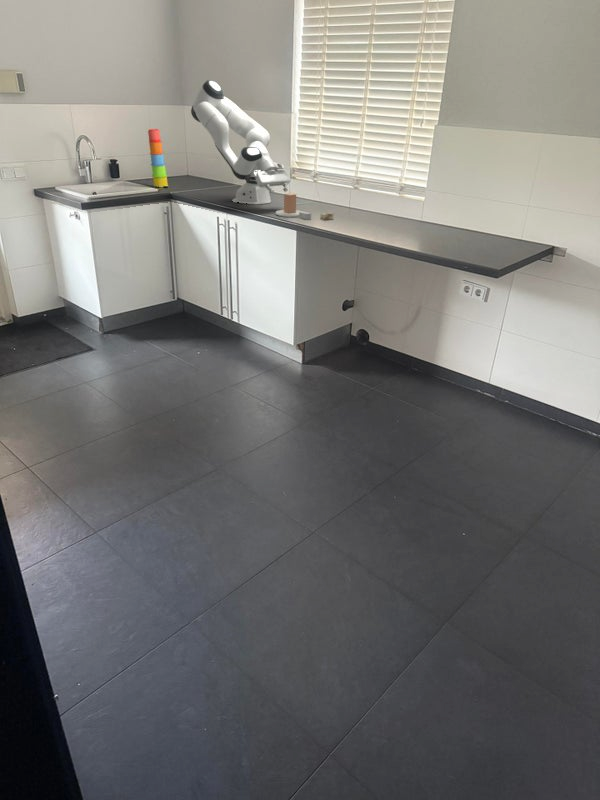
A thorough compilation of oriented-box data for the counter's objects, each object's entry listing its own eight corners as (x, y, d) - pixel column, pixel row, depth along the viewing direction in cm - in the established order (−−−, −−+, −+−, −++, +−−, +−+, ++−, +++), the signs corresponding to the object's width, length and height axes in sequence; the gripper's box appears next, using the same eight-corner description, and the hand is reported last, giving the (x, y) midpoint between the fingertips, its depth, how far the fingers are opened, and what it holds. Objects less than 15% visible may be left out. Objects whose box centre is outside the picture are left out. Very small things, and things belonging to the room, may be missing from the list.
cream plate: (272, 216, 293) (272, 213, 292) (280, 211, 305) (280, 208, 305) (300, 218, 290) (300, 215, 289) (306, 213, 302) (306, 210, 302)
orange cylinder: (283, 211, 297) (284, 194, 293) (290, 211, 300) (290, 193, 295) (289, 213, 294) (289, 195, 290) (295, 212, 297) (296, 194, 292)
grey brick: (299, 218, 291) (299, 212, 289) (303, 217, 292) (303, 211, 291) (306, 220, 287) (306, 213, 285) (311, 219, 288) (311, 213, 287)
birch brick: (323, 220, 286) (324, 214, 285) (320, 219, 289) (320, 213, 287) (333, 219, 290) (333, 213, 288) (329, 218, 292) (329, 212, 290)
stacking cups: (166, 188, 366) (161, 129, 350) (151, 188, 366) (145, 129, 350) (170, 186, 375) (166, 128, 359) (155, 186, 375) (150, 128, 359)
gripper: (254, 166, 292) (266, 189, 290) (285, 164, 304) (296, 186, 302) (249, 175, 297) (261, 197, 295) (280, 172, 309) (291, 193, 307)
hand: (279, 191), depth 299 cm, fingers open, 8 cm apart
